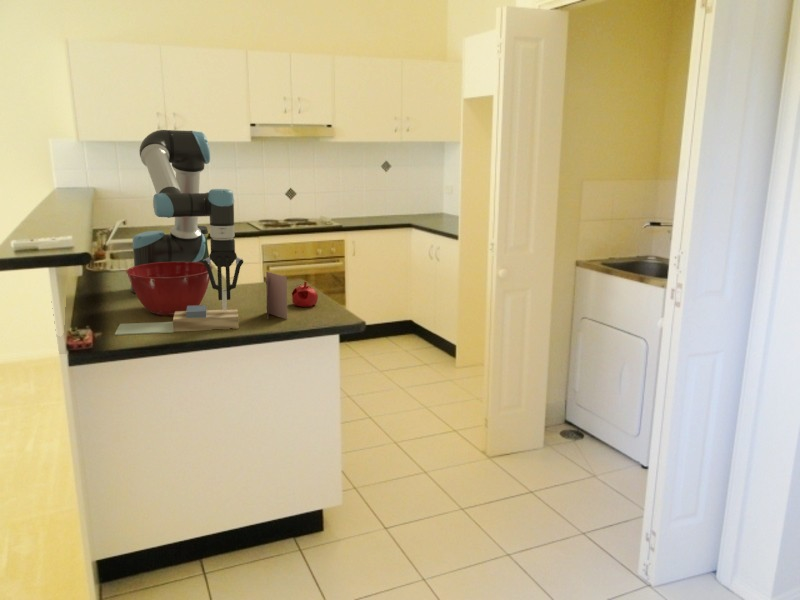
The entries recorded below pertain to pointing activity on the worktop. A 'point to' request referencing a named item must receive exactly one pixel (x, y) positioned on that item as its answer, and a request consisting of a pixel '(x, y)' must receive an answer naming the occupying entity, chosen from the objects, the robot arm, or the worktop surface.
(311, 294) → the pomegranate
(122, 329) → the rubber mat
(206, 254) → the coffee jar
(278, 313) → the greeting card
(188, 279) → the mixing bowl
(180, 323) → the tan block
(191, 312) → the blue-grey flat block
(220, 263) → the robot arm
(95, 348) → the worktop surface
